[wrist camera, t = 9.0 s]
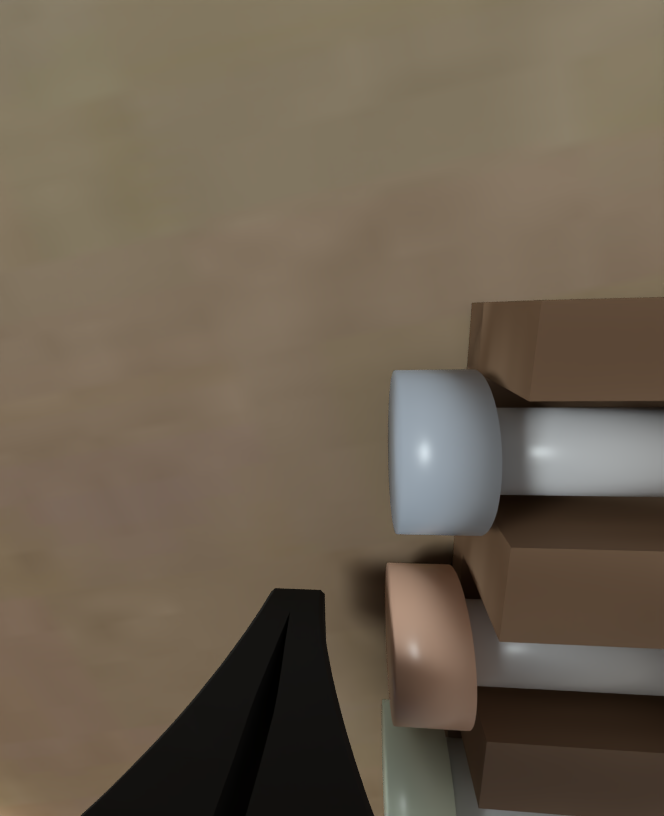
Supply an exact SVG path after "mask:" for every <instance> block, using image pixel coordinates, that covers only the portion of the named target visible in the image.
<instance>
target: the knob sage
mask: <svg viewBox="0 0 664 816" xmlns="http://www.w3.org/2000/svg"><path fill="white" fill-rule="evenodd" d="M382 770H383V797H384V816H568V815H556V814H543V813H530V812H518V811H505V810H493V809H480V808H478V804H477V799H476V795H475V791H474V787H473V783H472V778H471V774H470V770H469V766H468V761H467V757H466V753H465V749H464V745H463V740H462V738H450V737H446V736H445V731H444V729H428V728H412V727H397V726H393V723H392V717H391V709H390V700H386V699H383V700H382Z"/></svg>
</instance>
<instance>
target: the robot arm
mask: <svg viewBox="0 0 664 816" xmlns="http://www.w3.org/2000/svg"><path fill="white" fill-rule="evenodd" d="M81 816H374V814H373V812H372V809H371V806H370V803H369V801H368V798H367V795H366V792H365V789H364V786H363V783H362V780H361V777H360V774H359V771H358V768H357V765H356V762H355V759H354V755H353V752H352V749H351V745H350V742H349V739H348V736H347V732H346V729H345V725H344V721H343V718H342V714H341V710H340V706H339V702H338V698H337V694H336V690H335V686H334V681H333V677H332V672H331V667H330V661H329V656H328V651H327V645H326V626H325V594H324V593H323V592H322V591H321V590H305V589H280V588H275V589H274V590H273V591H272V592H271V593H270V595H269V596H268V598H267V600H266V601H265V603H264V604H263V606H262V608H261V609H260V611H259V612H258V614H257V615H256V617H255V618H254V620H253V621H252V623H251V624H250V626H249V627H248V629H247V630H246V632H245V633H244V634H243V636H242V637H241V639H240V640H239V641H238V643H237V644H236V645H235V647H234V648H233V650H232V651H231V652H230V654H229V655H228V656H227V658H226V659H225V660H224V662H223V663H222V664H221V666H220V667H219V668H218V669H217V671H216V672H215V673H214V674H213V676H212V677H211V678H210V679H209V681H208V682H207V683H206V684H205V686H204V687H203V688H202V689H201V691H200V692H199V693H198V694H197V696H196V697H195V698H194V699H193V700H192V702H191V703H190V704H189V705H188V706H187V707H186V709H185V710H184V711H183V712H182V713H181V714H180V715H179V717H178V718H177V719H176V720H175V721H174V722H173V723H172V724H171V726H170V727H169V728H168V729H167V730H166V731H165V732H164V733H163V734H162V735H161V736H160V738H159V739H158V740H157V741H156V742H155V743H154V744H153V745H152V746H151V747H150V748H149V749H148V750H147V751H146V752H145V753H144V754H143V755H142V756H141V757H140V758H139V759H138V760H137V761H136V763H135V764H134V765H133V766H132V767H131V768H130V769H129V770H128V771H127V772H126V773H125V774H124V775H123V776H122V777H121V778H120V779H119V780H118V781H117V782H116V783H115V784H114V785H113V786H112V787H111V788H110V789H109V790H108V791H107V792H106V793H104V794H103V795H102V796H101V797H100V798H99V799H98V800H97V801H96V802H95V803H94V804H93V805H92V806H91V807H90V808H88V809H87V810H86V811H85V812H84V813H83V814H82V815H81Z"/></svg>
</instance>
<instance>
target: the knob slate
mask: <svg viewBox="0 0 664 816" xmlns="http://www.w3.org/2000/svg"><path fill="white" fill-rule="evenodd" d="M388 470H389V490H390V503H391V513H392V521H393V526H394V530H395V533H396V534H415V535H459V536H482V535H485V534H486V533H487V532H488V531H489V529H490V528H491V526H492V524H493V522H494V520H495V516H496V513H497V510H498V505H499V500H500V495H546V496H615V497H664V407H550V408H496V405H495V401H494V398H493V395H492V392H491V389H490V387H489V385H488V383H487V381H486V379H485V377H484V376H483V375H482V374H481V373H480V372H479V371H478V370H475V369H461V370H394V371H393V373H392V378H391V384H390V394H389V411H388Z"/></svg>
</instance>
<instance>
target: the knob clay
mask: <svg viewBox="0 0 664 816" xmlns="http://www.w3.org/2000/svg"><path fill="white" fill-rule="evenodd" d="M385 627H386V654H387V673H388V687H389V699H390V709H391V717H392V723H393V726H397V727H412V728H428V729H444V730H459V731H471V730H472V728H473V726H474V723H475V718H476V711H477V686H488V687H506V688H525V689H543V690H562V691H580V692H599V693H617V694H635V695H654V696H664V649H649V648H627V647H604V646H582V645H560V644H538V643H515V642H499V640H498V637H497V635H496V633H495V630H494V628H493V625H492V623H491V621H490V618H489V616H488V613H487V611H486V609H485V606H484V604H483V601H482V599H465V597H464V593H463V590H462V587H461V584H460V581H459V578H458V576H457V574H456V572H455V570H454V568H453V567H452V566H451V565H449V564H417V563H387V565H386V576H385Z"/></svg>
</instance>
